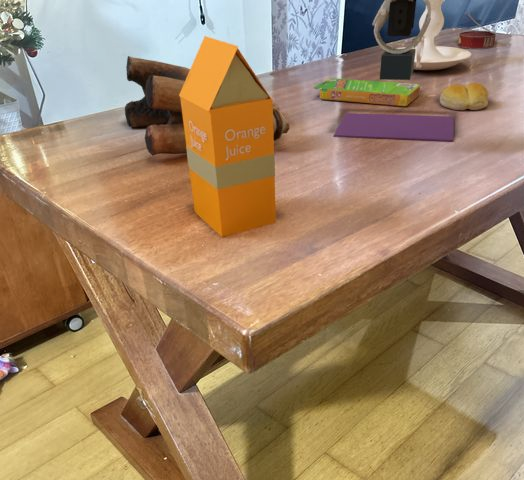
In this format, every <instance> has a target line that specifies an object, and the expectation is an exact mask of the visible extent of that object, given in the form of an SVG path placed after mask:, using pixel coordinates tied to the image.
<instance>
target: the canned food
mask: <svg viewBox="0 0 524 480" xmlns="http://www.w3.org/2000/svg"><path fill="white" fill-rule="evenodd" d="M466 14H467V15H468V17H469V18H470V19H471V20H472V21H473V22H474V23H475V24H476V25H477V26H479V27H480V28H481V29H483V30H469V31H468V30H467V31H463V32H460V33H459V36H458V40H457V42H458V43H457V48H460V49H468V50H485V49H490V48H494V46H495V42H496V36H497V33H496V32H494V31H492V30H490V29H488V28H486V27H485V26H483V25H481V24H480V23H478V22H477V21H476V20H475V19H474V18H473V17H472V15H471V13H470V12H469V11H466Z"/></svg>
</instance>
